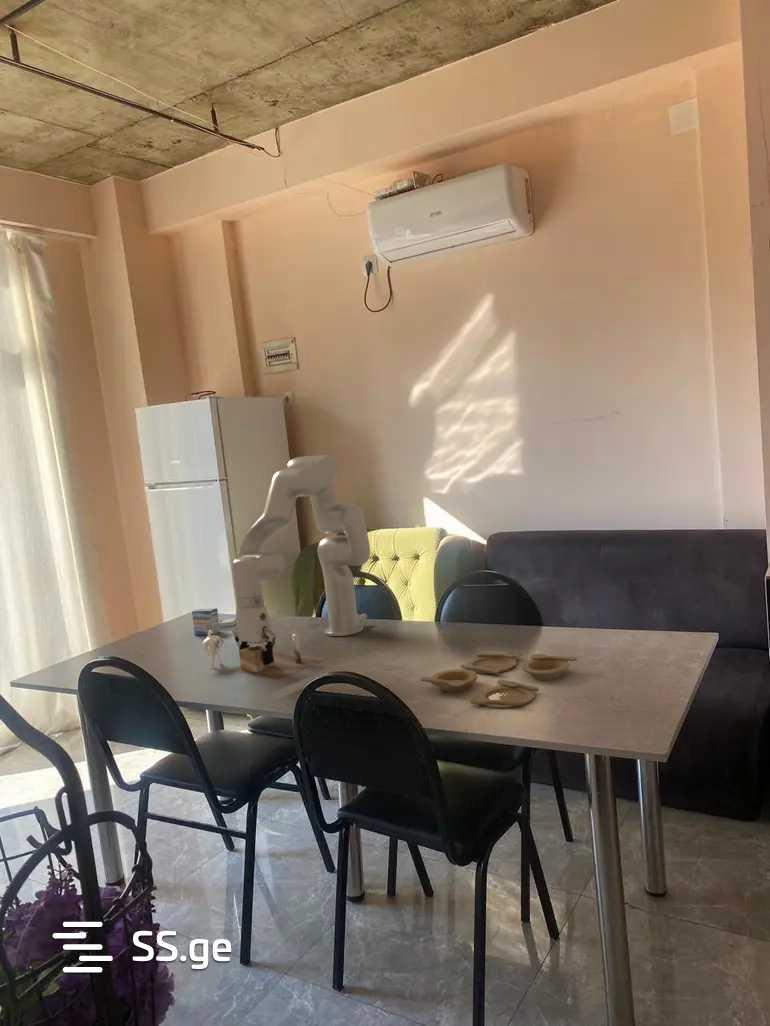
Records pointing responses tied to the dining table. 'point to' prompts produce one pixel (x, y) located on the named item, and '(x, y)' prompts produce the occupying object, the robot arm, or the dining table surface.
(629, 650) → the dining table surface
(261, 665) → the wooden cube
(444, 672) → the tableware set
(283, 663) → the wooden peg base
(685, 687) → the dining table surface
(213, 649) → the figurine
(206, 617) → the medicine box
